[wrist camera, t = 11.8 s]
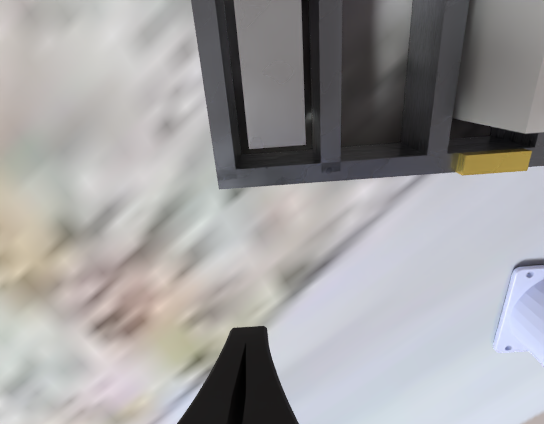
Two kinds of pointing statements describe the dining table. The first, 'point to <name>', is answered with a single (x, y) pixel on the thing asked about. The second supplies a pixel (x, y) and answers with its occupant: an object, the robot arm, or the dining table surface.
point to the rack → (338, 98)
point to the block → (503, 66)
